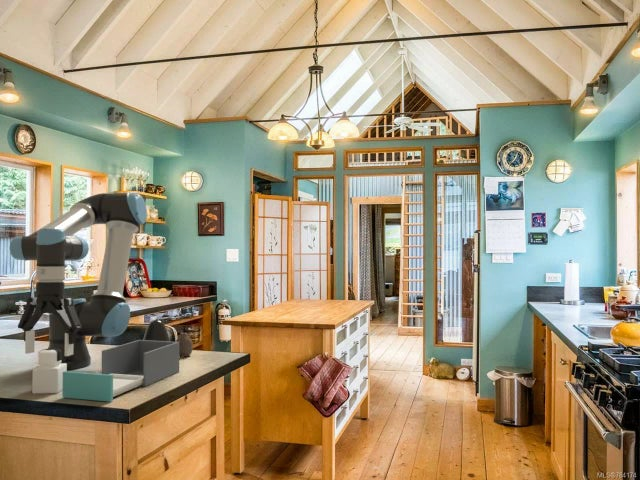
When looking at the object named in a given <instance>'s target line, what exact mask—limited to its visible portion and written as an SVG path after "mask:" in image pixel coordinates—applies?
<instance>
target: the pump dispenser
mask: <svg viewBox="0 0 640 480" xmlns="http://www.w3.org/2000/svg"><path fill="white" fill-rule="evenodd" d="M166 323H168V320H166V319H164V320H160V319H154V320H151V321H150V322H149V324H148V325H147V327H146V330H145V333H144V334H143V335H144V336H143V339H142V340H150V341H168V342H171V339H170V335H169V332H168V329H167V327H166Z"/></svg>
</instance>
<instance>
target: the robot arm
mask: <svg viewBox="0 0 640 480" xmlns="http://www.w3.org/2000/svg"><path fill="white" fill-rule="evenodd" d="M147 219H148V211H147V205H146V202H145V200H144V198H143V196H142V195H141V194H140V193H134V192H133V193H132V192H126V193H125V192H123V193H121V192H120V193H119V192H118V193H115V192H114V193H113V192H112V193H107V192H106V193H104V192H103V193H97V194H93V195H90V196H88V197H86V198H84V199H82V200H79V201H78V202H76V203H74V204H73V205H72V206H71V207H70V209H69V210H68V211H67V212H65V213H63V214H62V215H60V216H59V217H57V218H56V219H53V220H52V221H50V222H49V223H47V224H45V225H44V226H43V227H40V229H38V230H36V231H34V232H32V233H31V234H29V235H21V236H15V237H13V238H12V240H11V241H10V243H9V253H10V255H11V257H12V258H13V259H15V260H18V261H25V262H26V261H36V269H35V270H36V271H35V272H36V274H35V277H36V278H35V280H36V281H37V282H36V283H35V294H36V295H37V296H31V297H28V298H27V302H26V305H25V306H26V307H25V308H24V311H23V313H22V315H21V318H20V320H19V322H18V324H17V328H18V329H21V330H22V331H23V341H24V342H25V347H24V349H25V350H24V351H25V352H24V353H25V355H26V354H27V355H28V354H32V353H35V345H36V344H35V337H36V335H35V333H36V330H35V329H34V327H35V325H37V323H38V322H39V320H40V319H41V318H42V316H43V315H44V314H48V318H49V319H48V321H49V323H48V325H49V326H48V327H49V328H48V329H49V330H48V332H49V337H48V338H49V340H48V341H49V343H48V348H47V349H50V348H56V349H60V350H61V363H66V364H67V370H75V369H76V370H77V369H80V368H85V367H88V366H89V365H91V364H92V358H91V355H90V351H89V349H88V346H87V341H86V339H87V337H105V338H110V337H119V336H120V335H122V334H123V333H125V331H126V330H127V328H128V326H129V323H130V319H131V309H130V306H129V304H127V300H126V298H125V296H124V289H125V288H124V287H125V283H126V278H127V273H128V272H127V271H128V270H127V269H128V266H129V260H130V254H131V248H132V245H133V243H132V242H133V237H134V234H135V233H137V232H139V229H140V225H141V226H142V225H143V224H145V223H146V221H147ZM93 225H94V226H95V225H105V227H106V228H107V229H108V233H107V238H106V245H105V250H104V255H103V259H102V265H101V269H100V274H99V280H98V285H97V291H96V292H95V293H94V294H91V297H90V302H87V300H86V298H74V299H73V297H68V298H67V297H65V298H64V294H65V282H64V281H63V280H65V279H66V278H65V277H66V272H65V271H66V269H65V268H66V261H68V262H69V261H73V262H74V261H75V262H77V261H79V260H80V261H81V260H83V259H85V258H86V256H87V255H88V254H89V249H90V247H89V244H88V241H87V240H86V239H85V238H83V237H80V236H78V235H77V236H74V234H76V233H78V232H79V231H81V230H82V229H87V228H90V227H91V226H93Z"/></svg>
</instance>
